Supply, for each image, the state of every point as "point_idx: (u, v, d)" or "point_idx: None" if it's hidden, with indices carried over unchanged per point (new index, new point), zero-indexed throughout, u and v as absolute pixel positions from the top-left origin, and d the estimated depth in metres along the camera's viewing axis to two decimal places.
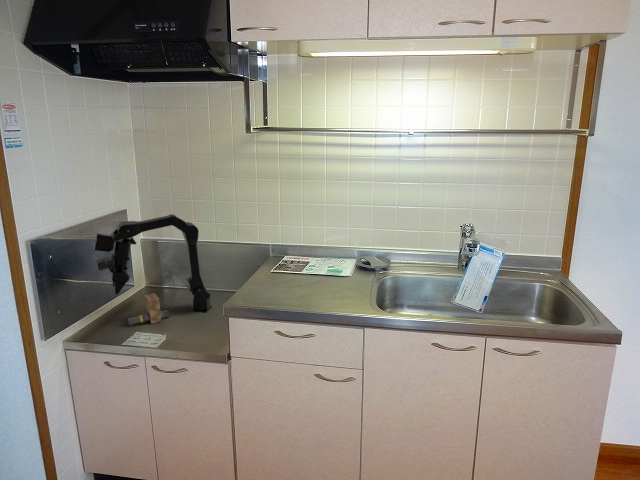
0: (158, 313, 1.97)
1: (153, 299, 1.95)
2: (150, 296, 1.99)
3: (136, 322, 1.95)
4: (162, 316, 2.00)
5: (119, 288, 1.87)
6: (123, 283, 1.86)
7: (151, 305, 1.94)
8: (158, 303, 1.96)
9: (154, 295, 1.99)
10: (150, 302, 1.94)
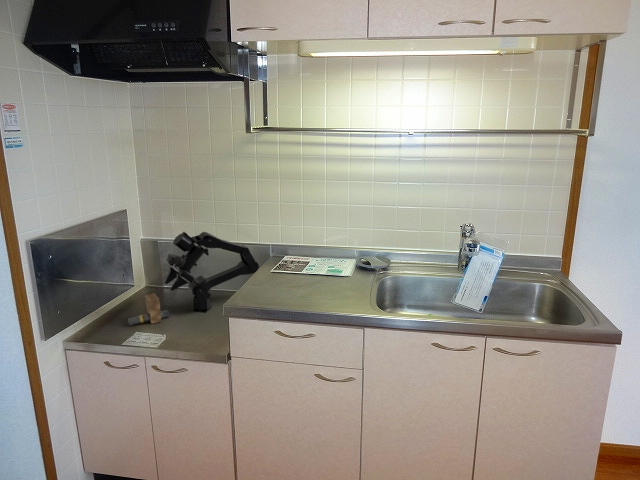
0: (158, 313, 1.97)
1: (153, 299, 1.95)
2: (150, 296, 1.99)
3: (136, 322, 1.95)
4: (162, 316, 2.00)
5: (177, 286, 1.97)
6: (183, 283, 1.97)
7: (151, 305, 1.94)
8: (158, 303, 1.96)
9: (154, 295, 1.99)
10: (150, 302, 1.94)
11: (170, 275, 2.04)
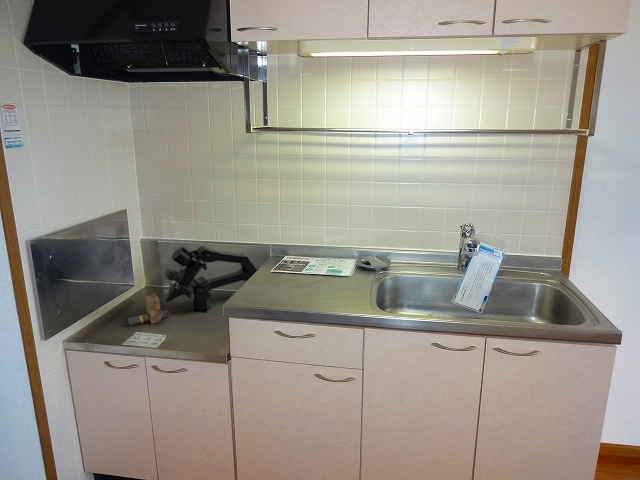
0: (158, 313, 1.97)
1: (153, 299, 1.95)
2: (150, 296, 1.99)
3: (136, 322, 1.95)
4: (162, 316, 2.00)
5: (172, 297, 2.01)
6: (178, 295, 2.01)
7: (151, 305, 1.94)
8: (158, 303, 1.96)
9: (154, 295, 1.99)
10: (150, 302, 1.94)
11: None
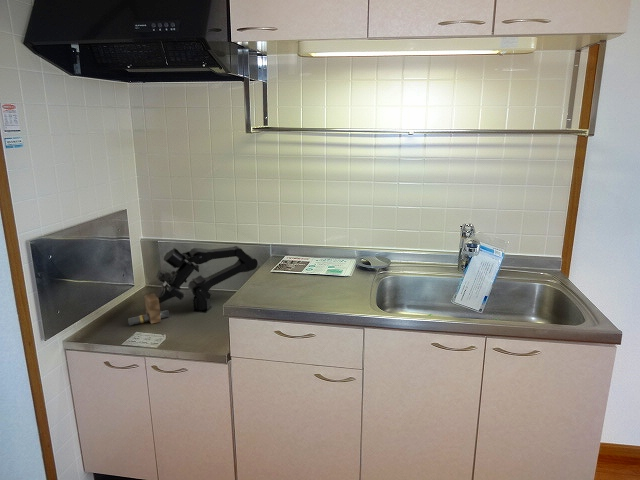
0: (158, 313, 1.97)
1: (153, 299, 1.95)
2: (150, 296, 1.98)
3: (136, 322, 1.95)
4: (162, 316, 2.00)
5: (164, 299, 1.99)
6: (170, 296, 2.00)
7: (151, 305, 1.94)
8: (158, 303, 1.95)
9: (154, 295, 1.99)
10: (149, 302, 1.93)
11: None
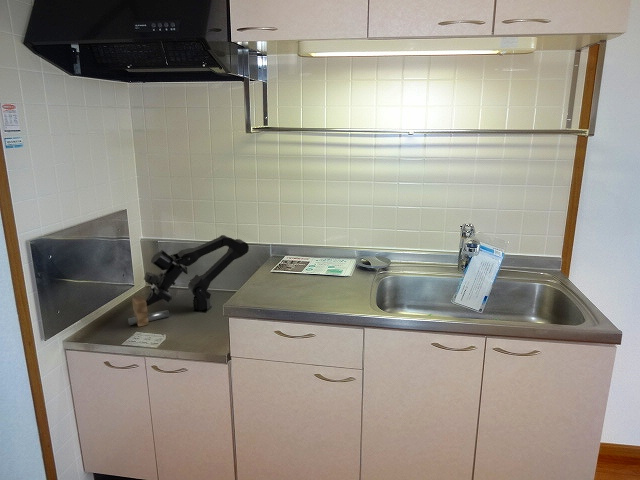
0: (145, 316, 1.94)
1: (140, 302, 1.92)
2: (137, 298, 1.96)
3: (136, 322, 1.95)
4: (162, 316, 2.00)
5: (151, 302, 1.97)
6: (158, 299, 1.97)
7: (138, 308, 1.91)
8: (145, 306, 1.93)
9: (141, 298, 1.97)
10: (137, 304, 1.91)
11: None
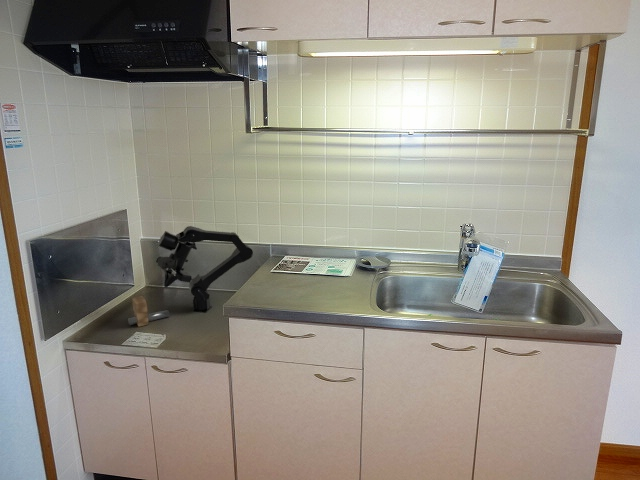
0: (145, 316, 1.94)
1: (140, 302, 1.92)
2: (137, 298, 1.96)
3: (136, 322, 1.95)
4: (162, 316, 2.00)
5: (170, 282, 2.02)
6: (176, 278, 2.02)
7: (138, 308, 1.91)
8: (145, 306, 1.93)
9: (141, 298, 1.97)
10: (137, 304, 1.91)
11: (167, 278, 2.01)
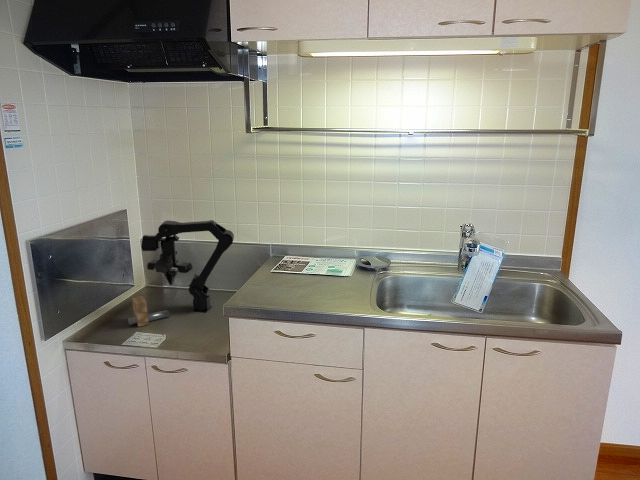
0: (145, 316, 1.94)
1: (140, 302, 1.92)
2: (137, 298, 1.96)
3: (136, 322, 1.95)
4: (162, 316, 2.00)
5: (173, 278, 2.06)
6: (176, 272, 2.06)
7: (138, 308, 1.91)
8: (145, 306, 1.93)
9: (141, 298, 1.97)
10: (137, 304, 1.91)
11: (169, 276, 2.05)
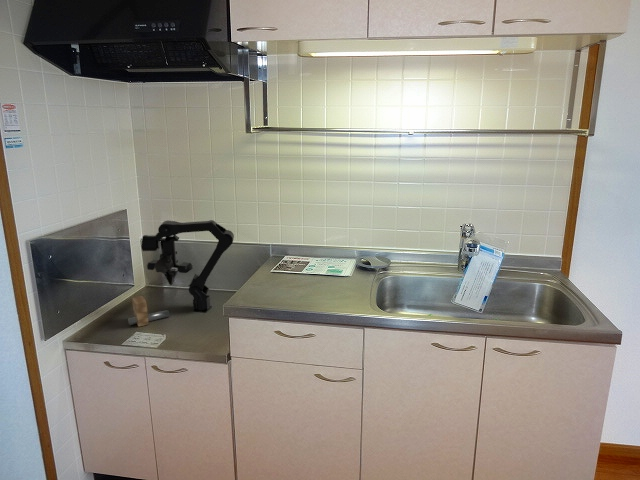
0: (145, 316, 1.94)
1: (140, 302, 1.92)
2: (137, 298, 1.96)
3: (136, 322, 1.95)
4: (162, 316, 2.00)
5: (173, 278, 2.06)
6: (176, 272, 2.06)
7: (138, 308, 1.91)
8: (145, 306, 1.93)
9: (141, 298, 1.97)
10: (137, 304, 1.91)
11: (169, 276, 2.05)
